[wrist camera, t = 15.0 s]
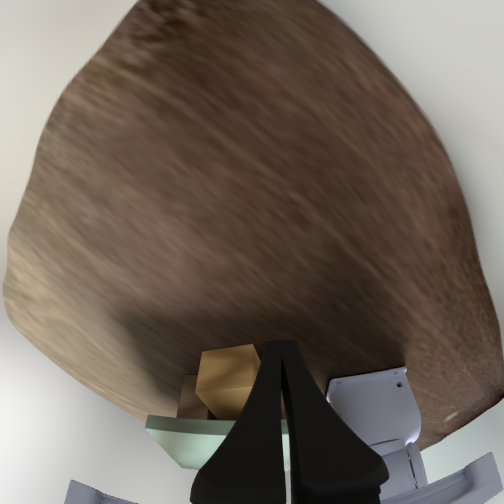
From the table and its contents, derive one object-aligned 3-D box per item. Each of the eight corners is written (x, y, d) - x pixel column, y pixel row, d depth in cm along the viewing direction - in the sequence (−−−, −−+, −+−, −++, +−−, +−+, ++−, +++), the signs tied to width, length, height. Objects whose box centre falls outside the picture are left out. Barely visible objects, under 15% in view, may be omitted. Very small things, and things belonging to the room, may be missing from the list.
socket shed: (329, 358, 26) (344, 427, 19) (316, 414, 32) (323, 466, 25) (162, 362, 27) (144, 428, 20) (189, 417, 33) (182, 467, 26)
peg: (252, 342, 25) (252, 386, 21) (279, 403, 31) (280, 438, 26) (202, 349, 26) (195, 392, 21) (239, 408, 31) (238, 442, 27)
